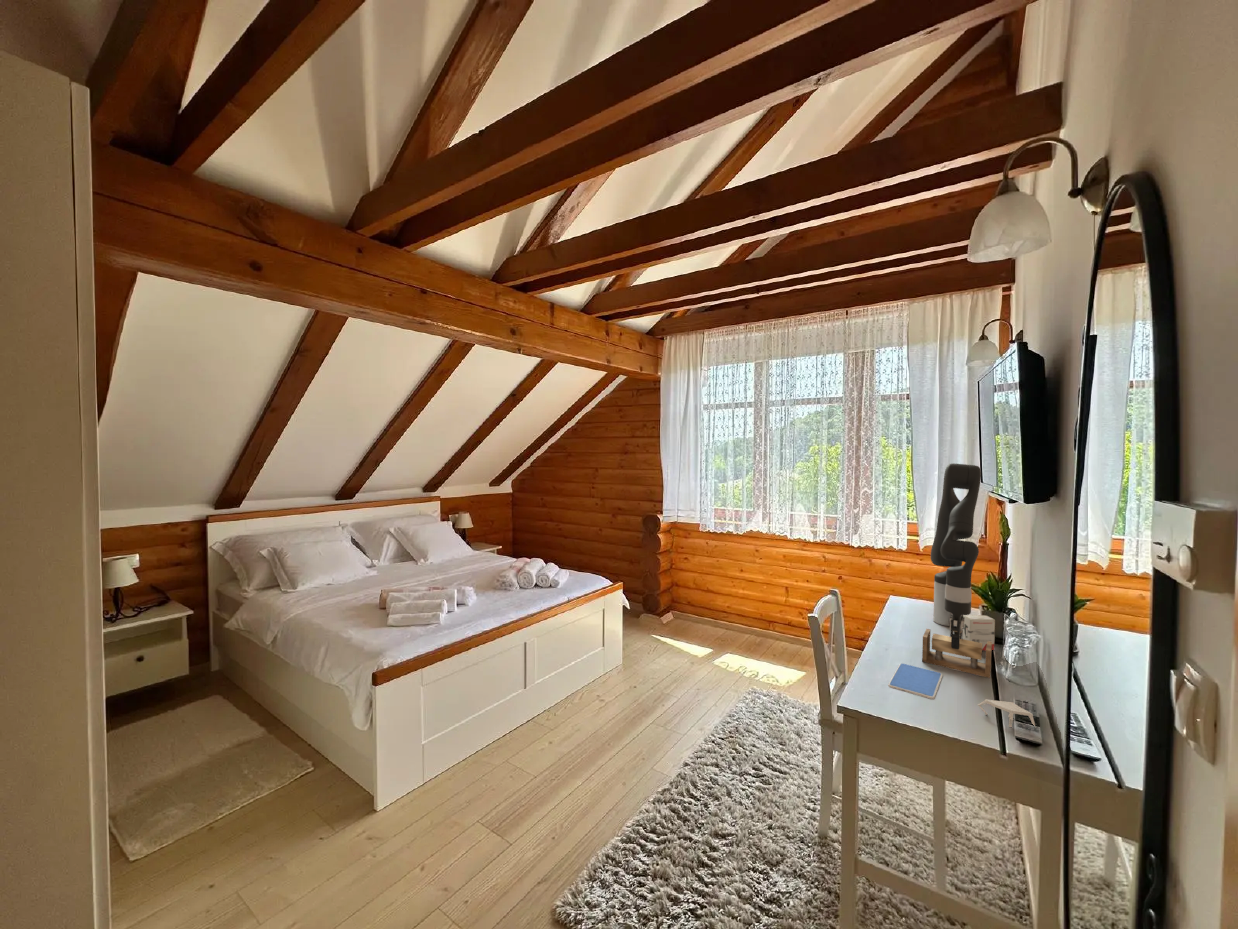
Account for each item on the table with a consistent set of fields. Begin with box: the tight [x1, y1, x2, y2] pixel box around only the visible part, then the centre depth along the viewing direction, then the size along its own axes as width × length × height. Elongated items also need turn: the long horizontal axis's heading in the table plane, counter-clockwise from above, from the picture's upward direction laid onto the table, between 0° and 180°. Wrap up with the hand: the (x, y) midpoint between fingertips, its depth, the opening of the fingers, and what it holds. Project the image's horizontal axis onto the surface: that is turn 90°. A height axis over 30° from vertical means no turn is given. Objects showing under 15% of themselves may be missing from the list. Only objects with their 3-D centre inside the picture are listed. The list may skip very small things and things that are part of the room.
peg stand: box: [921, 628, 993, 679], centre depth 170 cm, size 9×19×9 cm, turn 51°
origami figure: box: [977, 699, 1036, 728], centre depth 136 cm, size 12×8×5 cm
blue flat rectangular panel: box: [887, 662, 943, 700], centre depth 159 cm, size 19×13×1 cm, turn 140°
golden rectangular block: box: [931, 633, 983, 661], centre depth 169 cm, size 14×5×4 cm, turn 52°
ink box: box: [962, 614, 996, 652], centre depth 183 cm, size 9×5×12 cm, turn 84°
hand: (956, 644), depth 169 cm, fingers open, 8 cm apart
